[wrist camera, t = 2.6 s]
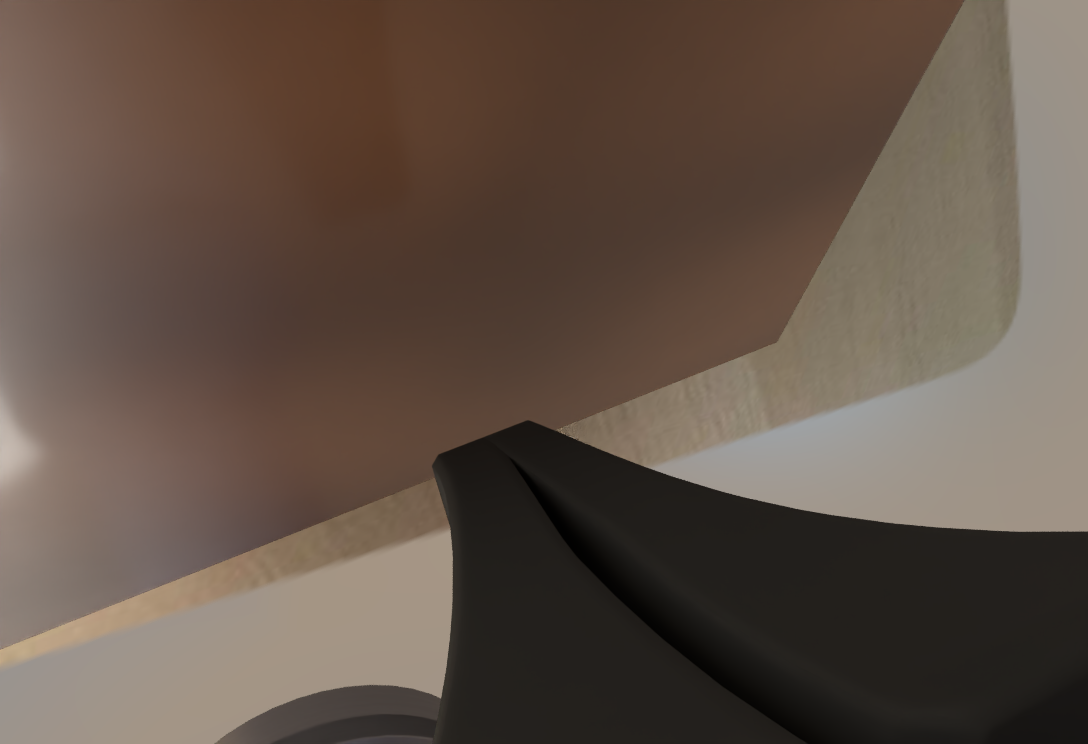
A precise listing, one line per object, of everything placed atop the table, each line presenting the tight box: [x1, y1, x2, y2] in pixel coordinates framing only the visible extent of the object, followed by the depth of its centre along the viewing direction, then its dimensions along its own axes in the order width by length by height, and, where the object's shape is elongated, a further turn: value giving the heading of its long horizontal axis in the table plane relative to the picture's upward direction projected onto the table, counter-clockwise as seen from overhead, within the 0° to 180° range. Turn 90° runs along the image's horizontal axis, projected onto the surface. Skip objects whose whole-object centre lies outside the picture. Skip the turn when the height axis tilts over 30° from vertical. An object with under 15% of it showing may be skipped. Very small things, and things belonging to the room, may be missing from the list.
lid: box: [0, 0, 964, 649], centre depth 10 cm, size 13×16×1 cm
